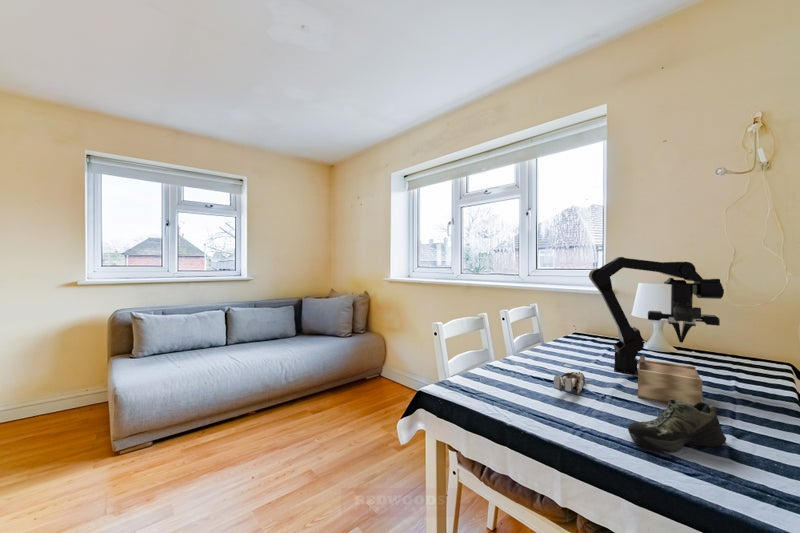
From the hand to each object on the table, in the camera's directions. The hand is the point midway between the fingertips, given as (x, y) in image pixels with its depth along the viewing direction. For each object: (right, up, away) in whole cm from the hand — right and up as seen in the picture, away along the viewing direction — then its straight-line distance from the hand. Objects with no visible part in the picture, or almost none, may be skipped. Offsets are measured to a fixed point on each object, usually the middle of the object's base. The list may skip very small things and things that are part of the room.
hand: (681, 342), depth 115 cm
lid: (-18, -5, -16) cm, 25 cm away
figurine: (-44, -12, -11) cm, 47 cm away
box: (-18, -12, -16) cm, 27 cm away
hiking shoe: (-37, -13, -42) cm, 57 cm away
